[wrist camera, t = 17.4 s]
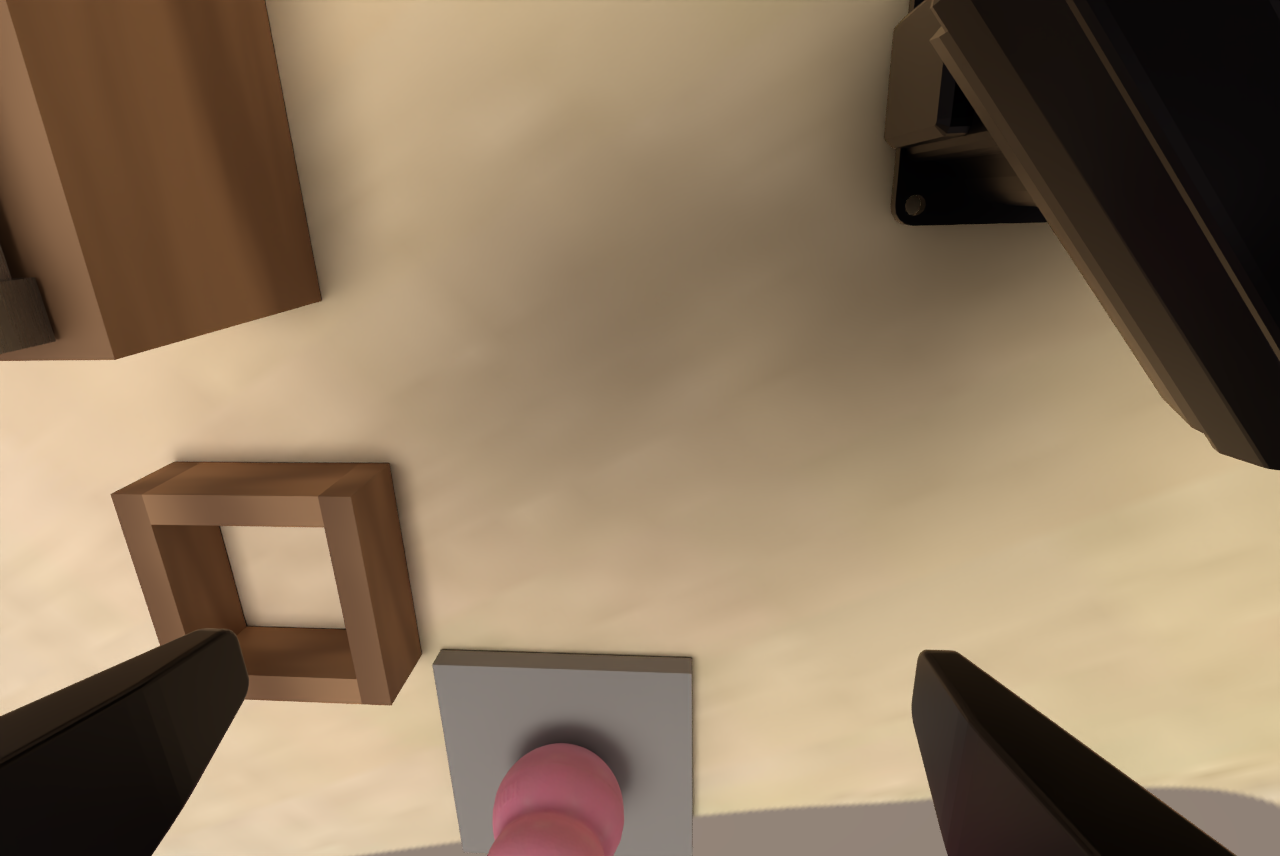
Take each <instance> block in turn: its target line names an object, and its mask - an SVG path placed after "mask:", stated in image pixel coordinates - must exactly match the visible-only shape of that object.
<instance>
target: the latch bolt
mask: <svg viewBox="0 0 1280 856" xmlns="http://www.w3.org/2000/svg"><path fill="white" fill-rule="evenodd" d="M55 341H56V340H55V337H54V334H53V331H52V328H51V325H50V322H49V319H48V316H47V313H46V309H45V306H44V303H43V300H42V297H41V294H40V291H39V288H38V285H37V282H36V279H35V277H31V278H11V275H10V272H9V269H8V266H7V263H6V260H5V257H4V254H3V251H2V248H1V245H0V354H3V353H8V352H12V351H16V350H21V349H25V348H29V347H34V346H38V345H42V344H47V343H51V342H55Z"/></svg>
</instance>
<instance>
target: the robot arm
mask: <svg viewBox="0 0 1280 856" xmlns="http://www.w3.org/2000/svg"><path fill="white" fill-rule="evenodd" d="M884 139H885V141H886V142H887V143H888V144H889V145H890V146H891V147H892V148H896V156H895V166H894V177H893V188H892V199H891V212H892V215H893V216H894V218H895V220H897V221H898V222H900V223H901V224H906V225H912V226H919V225H958V224H997V223H1035V222H1048V223H1049V225H1050V227H1051V228H1052V230H1053V231H1054V233H1055V234H1056V236H1057V237H1058V239H1059V240H1060V242H1061V243H1062V245H1063V246H1064V248H1065V250H1066V251H1067V253H1068V254H1069V256H1070V257H1071V259H1072V260H1073V262H1074V263H1075V265H1076V266H1077V268H1078V269H1079V271H1080V273H1081V274H1082V276H1083V277H1084V279H1085V280H1086V282H1087V283H1088V285H1089V286H1090V288H1091V289H1092V291H1093V292H1094V294H1095V296H1096V297H1097V299H1098V300H1099V302H1100V303H1101V305H1102V306H1103V308H1104V309H1105V311H1106V312H1107V314H1108V315H1109V317H1110V319H1111V320H1112V322H1113V323H1114V325H1115V326H1116V328H1117V329H1118V331H1119V332H1120V334H1121V335H1122V337H1123V338H1124V340H1125V342H1126V343H1127V345H1128V346H1129V348H1130V349H1131V351H1132V352H1133V354H1134V355H1135V357H1136V358H1137V360H1138V361H1139V363H1140V365H1141V366H1142V368H1143V369H1144V371H1145V372H1146V374H1147V375H1148V377H1149V378H1150V380H1151V381H1152V383H1153V385H1154V386H1155V388H1156V389H1157V391H1158V392H1159V394H1160V395H1161V397H1162V398H1163V399H1164V400H1165V401H1166V402H1167V403H1168V404H1169V405H1170V406H1171V407H1172V408H1173V409H1174V410H1175V411H1176V412H1177V413H1178V414H1179V415H1180V416H1181V417H1182V418H1183V419H1184V420H1185V421H1186V422H1187V423H1188V424H1189V425H1190V426H1191V427H1192V428H1194V429H1196V430H1198V431H1200V432H1202V433H1204V434H1205V436H1206V437H1207V439H1208V441H1209V442H1210V444H1211V445H1212V447H1213V448H1214V449H1215V450H1216V451H1218V452H1219V453H1221V454H1224V455H1227V456H1230V457H1233V458H1236V459H1239V460H1242V461H1245V462H1248V463H1251V464H1254V465H1257V466H1260V467H1264V468H1268V469H1274V470H1280V0H910V5H909V14H908V15H907V16H906V17H904V19H903V20H902V21H901V22H900V23H899V24H898V25H897V26H896V27H895V28H894V32H893V42H892V53H891V65H890V76H889V88H888V99H887V111H886V122H885V134H884ZM913 195H916V196H917V197H918V198H919V199H920V203H921V206H920V208H919V210H918V211H917V212H916V213H915V214H913V215H909V214H908V213H907V212H906V210H905V203H906V201H907V199H908V198H909V197H911V196H913ZM248 687H249V676H248V672H247V669H246V665H245V662H244V658H243V654H242V651H241V647H240V644H239V640H238V637H237V635H236V634H235V633H234V632H233V631H231V630H229V629H216V628H203V629H198V630H195V631H193V632H191V633H188V634H186V635H184V636H182V637H179V638H177V639H175V640H172V641H170V642H168V643H166V644H163V645H161V646H159V647H157V648H154V649H152V650H150V651H148V652H145V653H143V654H141V655H138V656H136V657H134V658H132V659H129V660H127V661H125V662H123V663H120V664H118V665H116V666H113V667H111V668H109V669H107V670H104V671H102V672H100V673H98V674H95V675H93V676H91V677H88V678H86V679H84V680H82V681H79V682H77V683H75V684H73V685H70V686H68V687H66V688H64V689H61V690H59V691H57V692H54V693H52V694H50V695H48V696H45V697H43V698H41V699H39V700H36V701H34V702H32V703H29V704H27V705H25V706H23V707H20V708H18V709H16V710H14V711H11V712H9V713H7V714H4V715H2V716H0V856H152V854H153V853H154V851H155V850H156V848H157V847H158V845H159V844H160V842H161V841H162V839H163V838H164V836H165V835H166V833H167V832H168V830H169V829H170V827H171V826H172V824H173V823H174V821H175V820H176V818H177V817H178V815H179V814H180V812H181V810H182V809H183V807H184V806H185V804H186V802H187V801H188V799H189V797H190V795H191V794H192V792H193V790H194V789H195V787H196V785H197V783H198V782H199V780H200V778H201V776H202V774H203V773H204V771H205V769H206V767H207V765H208V764H209V762H210V760H211V758H212V756H213V755H214V753H215V751H216V749H217V748H218V746H219V744H220V742H221V740H222V739H223V737H224V735H225V733H226V731H227V730H228V728H229V726H230V724H231V722H232V721H233V719H234V717H235V715H236V714H237V712H238V710H239V708H240V706H241V705H242V703H243V701H244V699H245V697H246V694H247V691H248ZM912 719H913V724H914V728H915V732H916V736H917V740H918V744H919V748H920V752H921V756H922V760H923V764H924V767H925V771H926V775H927V779H928V783H929V787H930V791H931V795H932V799H933V802H934V807H935V810H936V814H937V818H938V822H939V826H940V830H941V833H942V837H943V841H944V844H945V848H946V851H947V854H948V856H1236V855H1235V854H1234V853H1232V852H1231V851H1229V850H1228V849H1227V848H1226V847H1224V846H1223V845H1222V844H1220V843H1219V842H1217V841H1216V840H1215V839H1213V838H1212V837H1211V836H1209V835H1207V834H1206V833H1205V832H1203V831H1202V830H1201V829H1199V828H1198V827H1197V826H1195V825H1194V824H1193V823H1191V822H1190V821H1189V820H1187V819H1186V818H1185V817H1183V816H1182V815H1180V814H1179V813H1178V812H1176V811H1175V810H1173V809H1172V808H1171V807H1169V806H1168V805H1167V804H1165V803H1164V802H1163V801H1161V800H1160V799H1158V798H1157V797H1156V796H1154V795H1153V794H1152V793H1150V792H1149V791H1148V790H1146V789H1145V788H1143V787H1142V786H1141V785H1139V784H1138V783H1137V782H1135V781H1134V780H1132V779H1131V778H1130V777H1128V776H1127V775H1126V774H1124V773H1123V772H1121V771H1120V770H1119V769H1117V768H1116V767H1115V766H1113V765H1112V764H1111V763H1109V762H1108V761H1106V760H1105V759H1104V758H1102V757H1101V756H1100V755H1098V754H1097V753H1095V752H1094V751H1093V750H1091V749H1090V748H1089V747H1087V746H1086V745H1084V744H1083V743H1082V742H1080V741H1079V740H1078V739H1076V738H1075V737H1074V736H1072V735H1071V734H1069V733H1068V732H1067V731H1065V730H1064V729H1063V728H1061V727H1060V726H1058V725H1057V724H1056V723H1054V722H1053V721H1052V720H1050V719H1049V718H1047V717H1046V716H1045V715H1043V714H1042V713H1041V712H1039V711H1038V710H1037V709H1035V708H1034V707H1032V706H1031V705H1030V704H1028V703H1027V702H1026V701H1024V700H1023V699H1021V698H1020V697H1019V696H1017V695H1016V694H1015V693H1013V692H1012V691H1010V690H1009V689H1008V688H1006V687H1005V686H1004V685H1002V684H1001V683H1000V682H998V681H997V680H995V679H994V678H993V677H991V676H990V675H989V674H987V673H986V672H984V671H983V670H982V669H980V668H979V667H978V666H976V665H975V664H973V663H972V662H971V661H969V660H968V659H967V658H965V657H964V656H962V655H961V654H959V653H958V652H956V651H951V650H924V651H922V652H921V653H920V655H919V657H918V660H917V667H916V674H915V681H914V689H913V696H912Z"/></svg>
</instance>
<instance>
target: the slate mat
mask: <svg viewBox="0 0 1280 856" xmlns="http://www.w3.org/2000/svg"><path fill="white" fill-rule="evenodd" d="M433 671H434V677H435V684H436V690H437V696H438V702H439V708H440V714H441V720H442V726H443V732H444V738H445V745H446V751H447V757H448V763H449V769H450V775H451V781H452V787H453V793H454V799H455V806H456V812H457V818H458V824H459V830H460V836H461V842H462V847H463V852H464V853H481V854H488V852H489V850H490V848H491V846H492V845H493V843H494V841H495V839H494V834H493V807H494V803H495V797H496V793H497V791H498V788H499V786H500V784H501V782H502V780H503V778H504V777H505V775H506V774H507V772H508V771H509V770H510V768H511V767H512V766H513V765H514V764H515V763H516V762H517V761H518V760H519V759H520V758H522V757H523V756H524V755H526V754H527V753H529V752H530V751H532V750H534V749H536V748H539V747H541V746H545V745H548V744H554V743H568V744H574V745H578V746H581V747H584V748H586V749H588V750H590V751H592V752H593V753H595V754H596V755H597V756H599V757H600V758H601V759H602V760H603V761H604V762H605V763H606V764H607V765H608V766H609V768H610V769H611V771H612V772H613V774H614V776H615V777H616V779H617V782H618V784H619V787H620V790H621V794H622V798H623V806H624V826H623V831H622V836H621V841H620V843H619V845H618V847H617V849H616V852H615V853H614V855H613V856H692V847H693V846H692V845H693V841H692V658H678V657H647V656H616V655H586V654H555V653H524V652H493V651H463V650H441V651H440V652H439V654H438V656H437V658H436V659H435V661H434V663H433Z"/></svg>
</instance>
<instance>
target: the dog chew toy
mask: <svg viewBox="0 0 1280 856" xmlns="http://www.w3.org/2000/svg"><path fill="white" fill-rule="evenodd" d="M623 826H624V806H623V798H622V794H621V790H620V787H619V784H618V782H617V779H616V777H615V776H614V774H613V772H612V771H611V769H610V768H609V766H608V765H607V764H606V763H605V762H604V761H603V760H602V759H601V758H600V757H599V756H597V755H596V754H595V753H593V752H592V751H590V750H588V749H586V748H584V747H581V746H578V745H574V744H568V743H554V744H548V745H545V746H541V747H539V748H536V749H534V750H532V751H530V752H529V753H527V754H526V755H524V756H523V757H522V758H520V759H519V760H518V761H517V762H516V763H515V764H514V765H513V766H512V767H511V768H510V770H509V771H508V772H507V774H506V775H505V777H504V778H503V780H502V782H501V784H500V786H499V788H498V791H497V793H496V797H495V803H494V807H493V834H494V839H495V841H494V843H493V845H492V846H491V848H490V850H489V852H488V855H487V856H613V855H614V853H615V852H616V849H617V847H618V845H619V843H620V841H621V836H622V831H623Z"/></svg>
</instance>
